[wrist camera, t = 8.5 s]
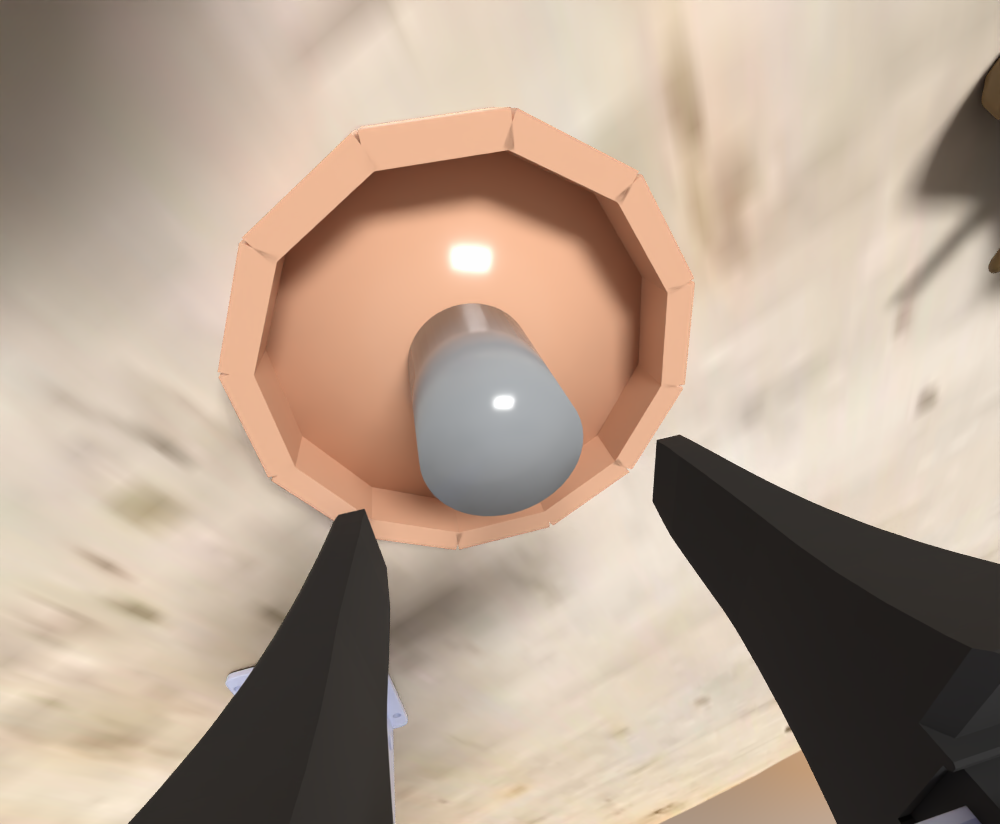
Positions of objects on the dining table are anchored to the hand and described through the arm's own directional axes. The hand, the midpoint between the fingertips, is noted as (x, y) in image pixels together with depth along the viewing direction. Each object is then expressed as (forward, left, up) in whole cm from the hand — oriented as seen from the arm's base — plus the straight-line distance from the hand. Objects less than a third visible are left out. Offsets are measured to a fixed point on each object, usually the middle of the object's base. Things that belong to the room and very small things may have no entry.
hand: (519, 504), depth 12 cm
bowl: (0, 0, -9) cm, 9 cm away
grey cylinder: (0, 0, -8) cm, 8 cm away
